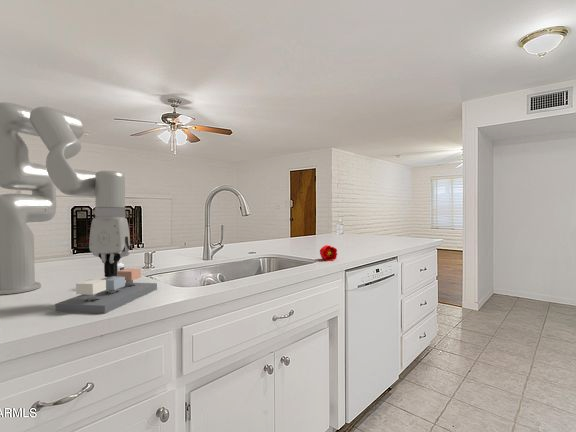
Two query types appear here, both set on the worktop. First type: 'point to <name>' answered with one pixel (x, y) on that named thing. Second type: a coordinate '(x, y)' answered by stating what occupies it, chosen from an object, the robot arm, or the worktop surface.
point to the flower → (328, 253)
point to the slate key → (114, 283)
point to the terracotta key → (129, 275)
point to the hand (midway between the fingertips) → (110, 275)
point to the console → (106, 299)
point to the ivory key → (91, 288)
